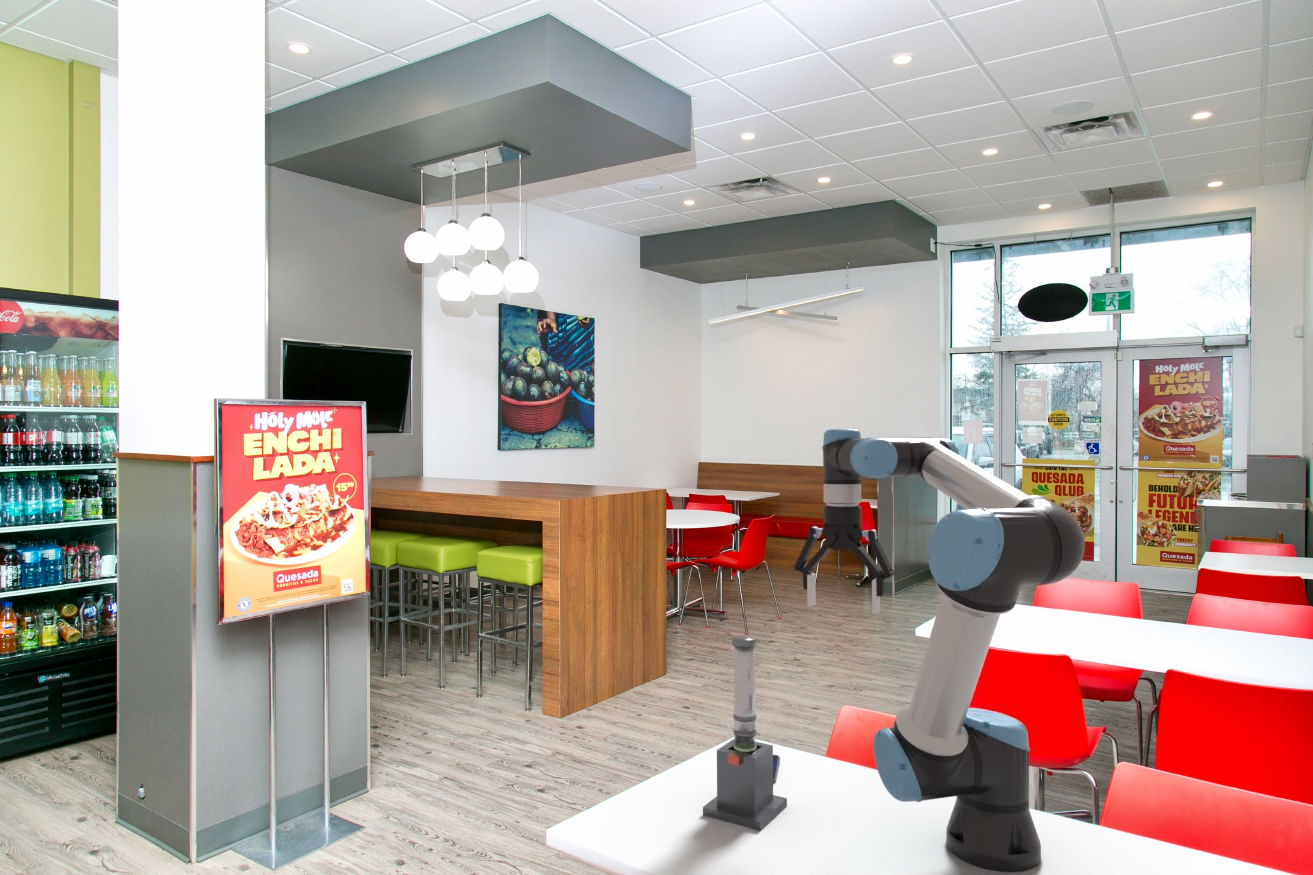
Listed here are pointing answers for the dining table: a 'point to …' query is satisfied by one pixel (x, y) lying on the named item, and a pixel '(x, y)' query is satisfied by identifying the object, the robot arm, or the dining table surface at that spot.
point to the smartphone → (775, 767)
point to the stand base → (745, 787)
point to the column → (744, 694)
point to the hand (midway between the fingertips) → (843, 609)
